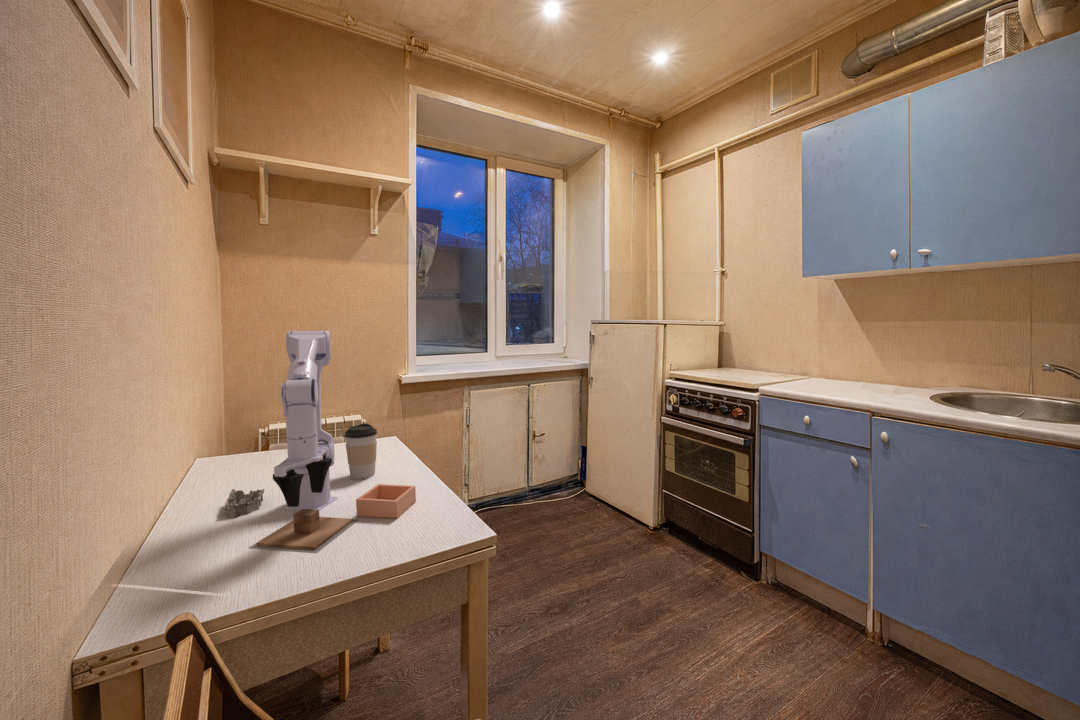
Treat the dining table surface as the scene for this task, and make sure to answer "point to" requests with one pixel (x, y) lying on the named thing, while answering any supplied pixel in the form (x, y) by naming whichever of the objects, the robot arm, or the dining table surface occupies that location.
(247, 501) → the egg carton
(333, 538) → the mat
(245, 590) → the dining table surface
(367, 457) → the coffee cup
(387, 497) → the open box
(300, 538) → the lid
